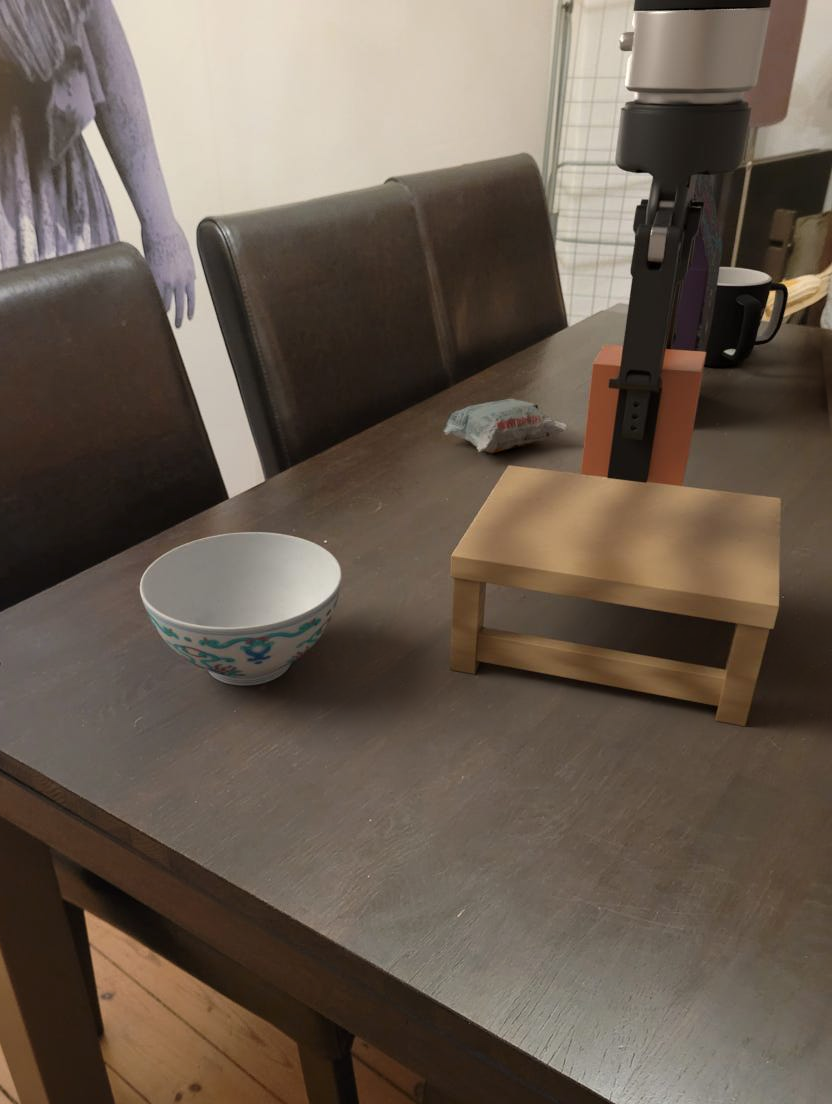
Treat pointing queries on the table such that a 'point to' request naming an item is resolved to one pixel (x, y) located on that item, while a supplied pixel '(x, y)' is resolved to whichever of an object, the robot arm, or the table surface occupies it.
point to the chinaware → (242, 602)
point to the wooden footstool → (623, 576)
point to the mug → (742, 315)
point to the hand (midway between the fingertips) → (632, 463)
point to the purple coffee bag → (700, 276)
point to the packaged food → (502, 425)
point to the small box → (672, 419)
